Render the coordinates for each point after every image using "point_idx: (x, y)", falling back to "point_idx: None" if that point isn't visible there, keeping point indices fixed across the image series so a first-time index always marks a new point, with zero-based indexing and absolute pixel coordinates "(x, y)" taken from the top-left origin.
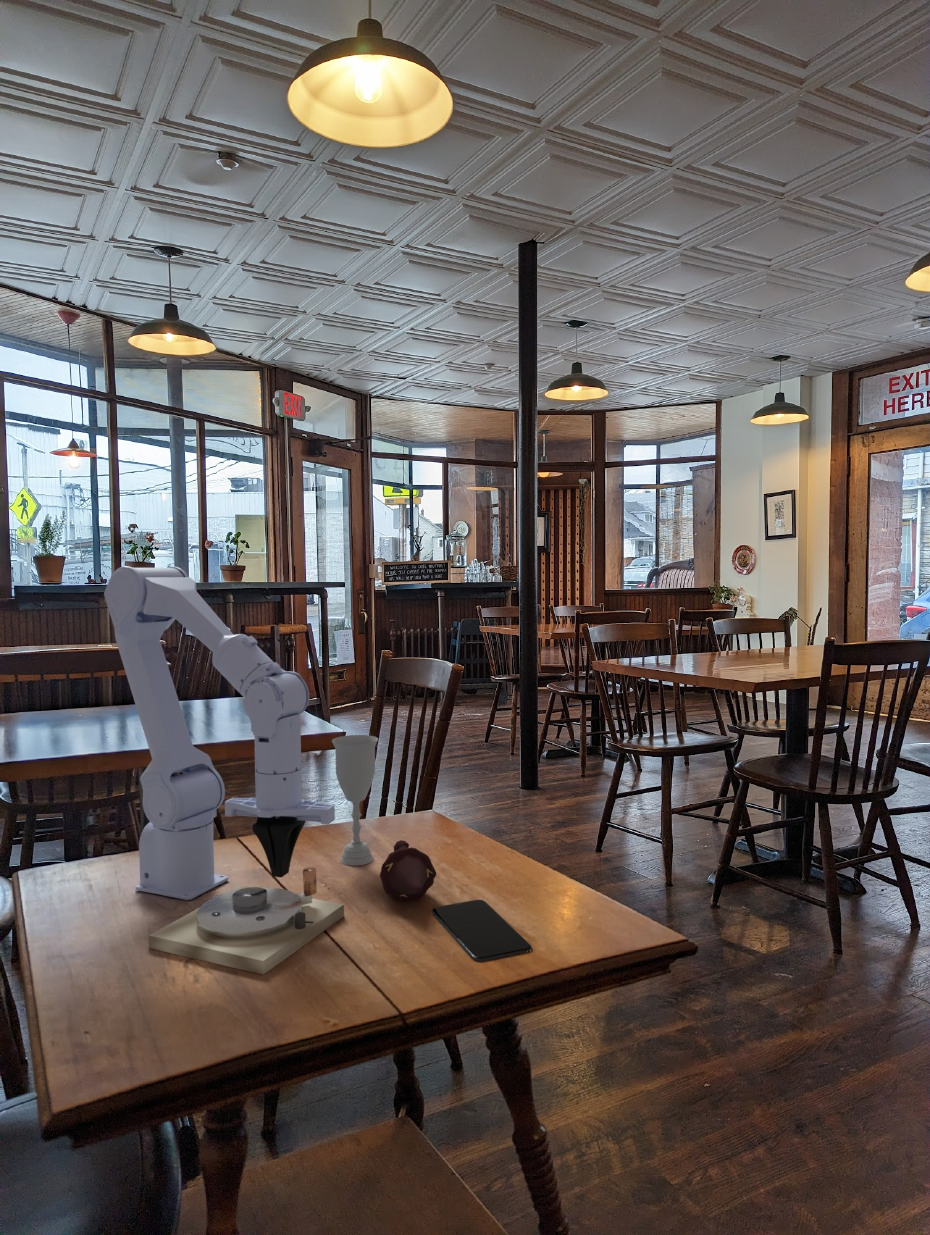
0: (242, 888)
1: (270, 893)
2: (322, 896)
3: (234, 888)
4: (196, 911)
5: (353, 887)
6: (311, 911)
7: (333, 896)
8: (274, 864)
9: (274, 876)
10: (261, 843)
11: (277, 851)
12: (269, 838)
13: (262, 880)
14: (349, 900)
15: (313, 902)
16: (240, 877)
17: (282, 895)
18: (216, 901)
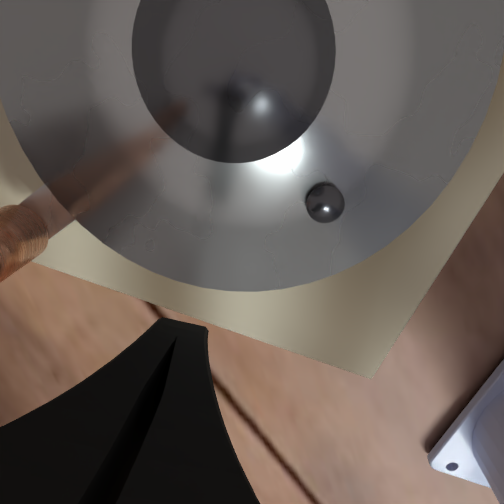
0: (355, 355)
1: (194, 229)
2: (100, 354)
3: (385, 355)
4: (501, 147)
5: (34, 409)
6: (18, 156)
7: (66, 354)
8: (173, 352)
9: (195, 325)
10: (229, 454)
11: (115, 394)
12: (132, 477)
13: (320, 455)
14: (4, 327)
15: (49, 240)
16: (393, 474)
17: (132, 207)
18: (426, 129)
